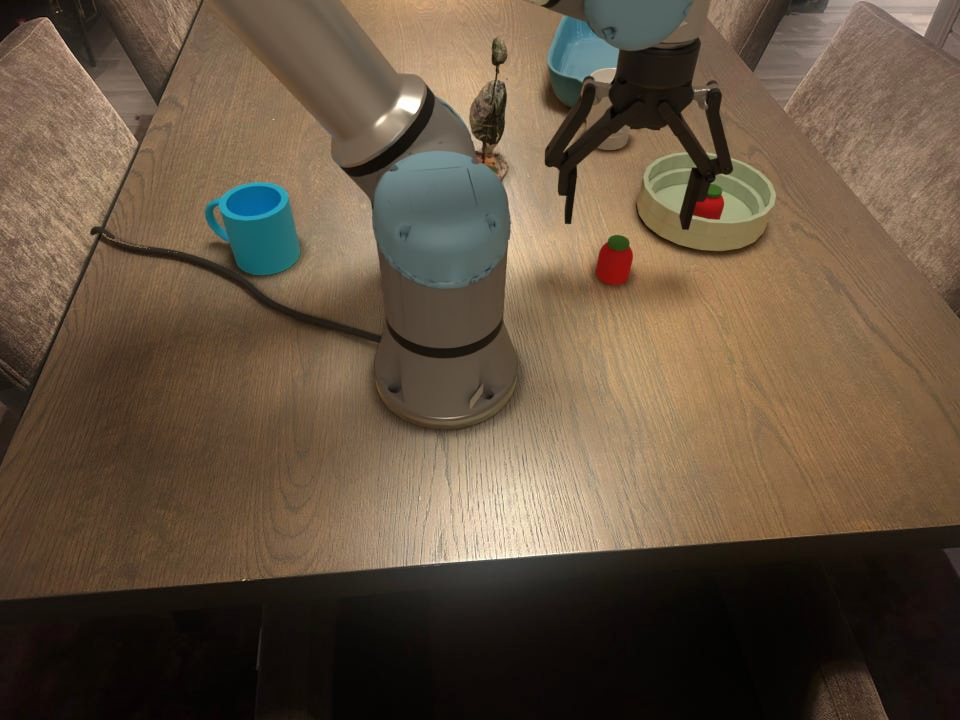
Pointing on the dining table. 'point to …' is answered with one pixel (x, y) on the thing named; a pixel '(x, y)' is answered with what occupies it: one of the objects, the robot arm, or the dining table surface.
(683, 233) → the bowl
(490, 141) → the plant with pod
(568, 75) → the casserole dish
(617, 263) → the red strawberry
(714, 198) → the strawberry near
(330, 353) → the dining table surface
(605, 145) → the white cup
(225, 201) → the mug
